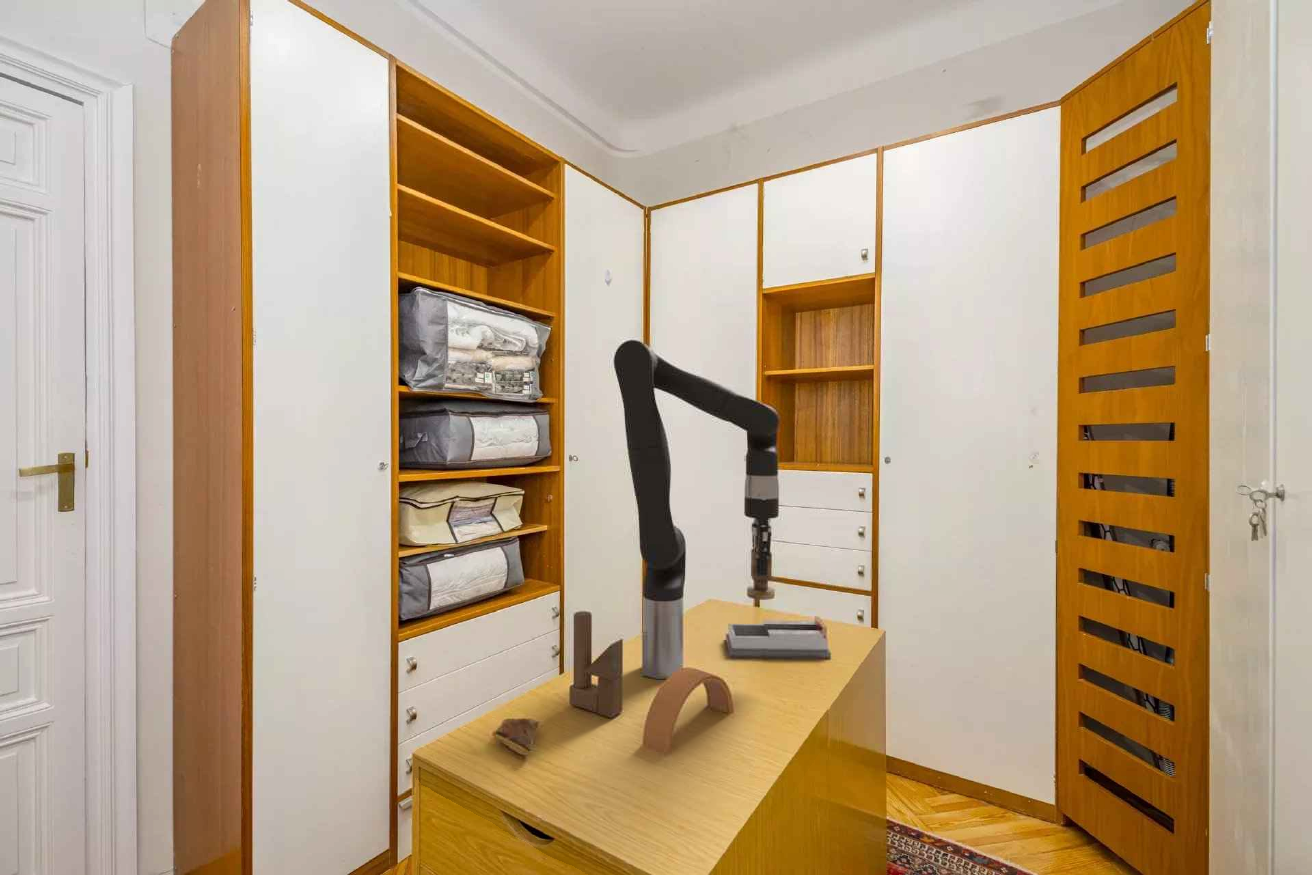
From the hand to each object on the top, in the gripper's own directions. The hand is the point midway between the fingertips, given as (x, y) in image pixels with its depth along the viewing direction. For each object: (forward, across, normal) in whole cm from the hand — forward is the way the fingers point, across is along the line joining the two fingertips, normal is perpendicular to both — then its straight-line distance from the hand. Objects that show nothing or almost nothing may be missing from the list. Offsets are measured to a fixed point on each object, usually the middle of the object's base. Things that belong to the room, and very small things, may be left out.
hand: (760, 572), depth 129 cm
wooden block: (+24, +17, -34) cm, 45 cm away
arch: (+24, +24, -16) cm, 37 cm away
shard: (+25, +32, -41) cm, 57 cm away
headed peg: (+5, 0, 0) cm, 5 cm away
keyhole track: (+23, -16, +6) cm, 29 cm away
